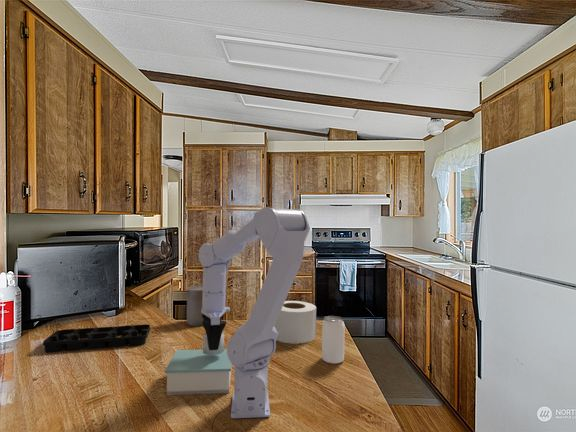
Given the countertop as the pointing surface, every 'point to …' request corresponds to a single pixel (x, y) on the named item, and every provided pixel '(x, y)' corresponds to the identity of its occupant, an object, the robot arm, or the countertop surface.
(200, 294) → the pillar candle
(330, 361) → the can
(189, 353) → the lid
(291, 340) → the toilet paper roll
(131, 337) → the black muffin tray
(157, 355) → the countertop surface
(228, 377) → the box
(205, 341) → the grey rounded dome
